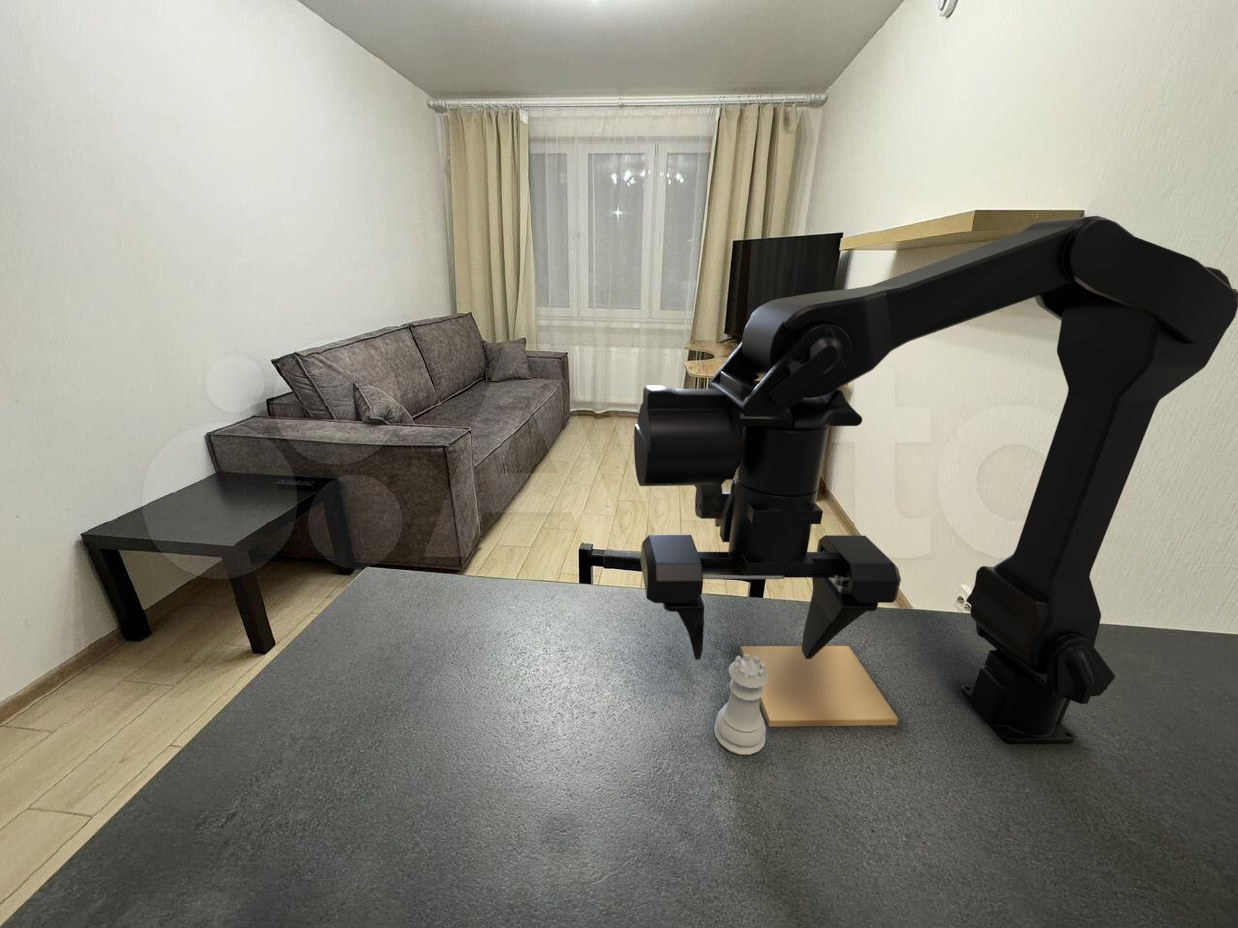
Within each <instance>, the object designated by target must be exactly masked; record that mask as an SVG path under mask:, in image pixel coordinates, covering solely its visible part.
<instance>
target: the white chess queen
mask: <svg viewBox="0 0 1238 928" xmlns="http://www.w3.org/2000/svg"><path fill="white" fill-rule="evenodd" d="M728 667H729V668H728V673H729V676H730V678H731V679H730V680H729V683H728V685H729V689H730V694H729V697H728V700H727V702H726V703H725V704H724V705H723V706H722V708H720V709H719V711H718V712H717V715H716V719H715V723H714V726H713V730H714V735H715V737H716V739H717V741H718V742H719V744H721V746H722V747H723V748H724V749H726V750H727V751H728V752H730V753H732V754H735V755H738V756H750V755H752V754H755V753H758V752H760V751H761V750H762V748H763V747H764V746H765V744H766V743H765V742H766V739H767V738H766V732H767V727H766V723H765V720H764V718H763V715H762V713H761V710H760V702H759V699H760V697H761V696H762V695H763V688H762V686H764V685H765V684H766V683H767V682H768V674H767V671H766V670H765V664H764V663H760V658H758V657H756V656H755V657H754V660H753V659H749V654H743V658H742V656H741V655H740V654H739V655H737V656H736V657H735V659H734V661H733V662H732V663H731V664H730V665H729V666H728Z"/></svg>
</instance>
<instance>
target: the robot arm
mask: <svg viewBox="0 0 1238 928" xmlns="http://www.w3.org/2000/svg"><path fill="white" fill-rule="evenodd" d="M1033 298H1034V299H1035V302H1036V304H1037V305H1038V306H1039V307H1040V308H1041V309H1042V310H1043V311H1046V312H1047V313H1048V314H1050V315H1051V316H1053V317H1055V318H1056V319H1058V320H1059V321H1060V328H1059V333H1058V339H1057V346H1056V354H1057V357H1058V360H1059V363H1060V366H1061V369H1062V372H1063V376H1064V379H1065V382H1066V385H1067V395H1066V397H1065V401H1064V404H1063V406H1062V410H1061V413H1060V416H1059V419H1058V422H1057V425H1056V427H1055V431H1054V434H1053V436H1052V440H1051V443H1050V446H1049V449H1048V452H1047V455H1046V458H1045V460H1044V463H1043V467H1042V470H1041V472H1040V476H1039V477H1038V478H1039V479H1038V482H1037V485H1036V488H1035V491H1034V494H1033V497H1032V499H1031V503H1030V505H1029V509H1028V512H1027V515H1026V517H1025V521H1024V523H1023V526H1022V530H1021V533H1020V536H1019V539H1018V542H1017V545H1016V547H1015V549H1014V551H1013V553H1012V554H1011V555H1010V556H1008V557H1006V558H1005V559H1003V560H1002V561H1000V562H998V563H997V564H995V565H994V566H986V565H982V566H980V567H979V568H978V569H977V570H976V572H975V580H974V585H973V588H972V589H971V592H970V594H969V595H968V597H967V598H966V599H965V602H966V603H968V604H969V605H970V611H969V612H970V613H969V614H970V617H971V618H972V619H973V621H974V622H975V628H976V629H975V630H976V634H977V636H979V637H980V638H983V639H984V640H985V641H986V642H987V643H989V644H990V645H991V646H992V647H993V648H994V649H990V650H989V651H988V654H987V655H986V656H987V657H986V660H985V663H984V665H981V666H980V668H979V671H978V675H977V677H976V680H975V683H974V684H973V685H972V684H969V685H968V684H964V685H962V686H961V689H960V690H961V693H962V695H964V696H965V697H966V699H967V700H968V701H969V702H970V703H971V704H972V705H973V706H974V708H975V709H976V710H977V711H978V712H979V713H980V715H981V716H982V717H983V718H984V719H985V721H986V722H987V723H988V724H989V725H990V726H991V727H992V728H993V730H994V731H995V732H996V733H997V734H998V735H999V736H1000V737H1001V738H1002V740H1003V741H1005V742H1006V743H1009V744H1063V743H1064V744H1065V743H1067V744H1068V743H1070V744H1071V743H1074V742H1075V739H1076V735H1075V734H1074V733H1073V732H1072V731H1071V730H1070V729H1068V727H1067V726H1066V725H1064V724H1063V723H1062V722H1063V719H1064V718H1065V716H1066V713H1067V710H1068V707H1069V706H1070V704H1071V701H1072V702H1075V703H1077V704H1080V705H1084V704H1085V705H1088V704H1089V702H1090V700H1091V697H1099V696H1101V695H1102V694H1103V693H1104V692H1105V691H1106V690H1107V689H1108V687H1109V686H1110V685H1111V683H1112V682H1113V681H1114V680H1115V678H1116V675H1115V674H1114V672H1113V671H1112V669H1111V668H1110V666H1109V665H1108V664H1107V662H1106V661H1105V660H1104V658H1103V657H1102V656H1101V654H1100V653H1099V652H1098V650H1097V649H1096V647H1095V645H1096V641H1097V637H1098V631H1099V627H1100V623H1101V619H1102V613H1101V609H1100V606H1099V602H1098V599H1097V596H1096V592H1095V589H1094V586H1093V583H1092V580H1091V572H1092V569H1093V567H1094V564H1095V561H1096V559H1097V557H1098V554H1099V552H1100V549H1101V547H1102V544H1103V543H1104V539H1105V537H1106V534H1107V531H1108V529H1109V526H1110V523H1111V522H1112V519H1113V516H1114V514H1115V511H1116V508H1117V506H1118V504H1119V501H1120V500H1121V496H1122V493H1123V492H1124V489H1125V486H1126V484H1127V481H1128V479H1129V477H1130V473H1131V471H1132V469H1133V466H1134V463H1135V460H1136V458H1137V456H1138V454H1139V452H1140V448H1141V446H1142V444H1143V441H1144V438H1145V435H1146V433H1147V431H1148V428H1149V425H1150V423H1151V420H1152V418H1153V415H1154V413H1155V410H1156V408H1157V407H1158V405H1159V402H1160V401H1161V400H1162V399H1163V398H1165V397H1166V396H1167V395H1169V394H1171V393H1172V392H1173V391H1175V390H1176V389H1177V388H1178V387H1180V386H1181V385H1183V384H1184V383H1186V381H1188V380H1189V379H1191V378H1192V377H1194V376H1195V375H1196V374H1198V373H1199V372H1201V371H1202V370H1203V369H1204V368H1205V367H1207V365H1208V363H1209V361H1210V360H1211V358H1212V356H1213V355H1214V353H1215V351H1216V350H1217V348H1218V345H1219V344H1220V342H1221V340H1222V339H1223V337H1224V335H1225V334H1226V332H1227V330H1228V329H1229V328H1230V326H1231V324H1232V323H1233V322H1234V319H1235V318H1236V315H1237V312H1238V289H1236V288H1233V286H1232V284H1231V282H1230V280H1229V277H1228V276H1227V275H1226V274H1225V273H1224V272H1223V271H1222V270H1220V269H1219V268H1214V267H1211V266H1205V265H1203V263H1202V262H1200V261H1198V260H1197V259H1195V258H1193V257H1191V256H1188V255H1186V254H1182V253H1181V252H1177V251H1175V250H1172V249H1169V248H1167V247H1164V246H1162V245H1160V244H1156V243H1153V242H1151V241H1148V240H1145V239H1143V238H1140V237H1137V236H1135V235H1133V234H1132V233H1131V232H1130V231H1128V230H1127V229H1125V227H1124V226H1122V225H1120V224H1119V223H1118V222H1116V221H1114V220H1111V219H1109V218H1106V217H1103V216H1101V215H1100V216H1099V215H1091V216H1090V215H1089V216H1080V217H1070V218H1069V217H1068V218H1060V219H1048V220H1043V221H1037V222H1034V223H1033V224H1031V225H1029V226H1028V227H1026V228H1025V229H1023V230H1020V232H1017V233H1013V234H1012V235H1009V236H1005V237H1003V238H1000V239H998V240H995V241H991V242H989V243H986V244H983V245H981V246H978V247H975V248H973V249H970V250H969V249H968V250H966V251H963V252H961V253H958V254H955V255H953V256H950V257H947V258H943V259H941V260H938V261H935V262H932V263H930V264H927V265H923V266H921V267H919V268H916V269H913V270H911V271H908V272H905V273H902V274H899V275H897V276H894V277H891V278H888V279H884V280H882V281H879V282H877V283H874V284H872V285H871V284H870V285H866V286H860V287H854V288H845V289H837V290H827V291H819V292H813V293H812V292H811V293H805V294H799V295H793V296H788V297H782V298H776V299H772V300H770V301H768V302H765V303H764V304H762V305H760V306H758V307H757V308H756V309H755V310H754V311H753V312H752V313H751V314H750V318H749V320H748V322H747V323H746V325H745V327H744V329H743V333H742V338H741V343H739V345H738V346H737V347H736V349H735V350H733V352H732V353H731V355H729V357H728V358H727V359H726V360H725V362H724V363H723V364H722V365H721V367H720V368H719V369H718V370H717V372H715V374H714V375H713V376H712V377H711V379H710V380H709V381H708V383H707V388H674V387H669V386H666V385H645V387H643V390H642V391H643V392H642V403H641V405H640V407H639V411H638V416H637V423H636V424H634V429H633V430H634V431H633V434H634V435H633V453H634V454H633V455H634V469H635V475H636V480H637V483H638V485H639V487H676V486H677V487H681V486H682V487H684V486H685V487H687V486H688V487H689V486H696V488H695V494H694V495H695V497H694V499H695V500H694V513H695V516H696V517H697V518H700V519H702V520H714V526H715V527H716V528H719V527H720V528H719V538H720V540H721V541H722V543H728V548H727V549H728V550H727V551H698V549H697V547H696V544H695V541H694V539H693V535H692V534H649V535H648V536H646V537H645V539H644V540H643V541H642V543H641V550H640V567H641V573H642V579H643V585H644V591H645V597H646V599H647V600H648V601H649V602H652V603H654V604H662V607H663V609H664V610H665V611H667V612H670V613H671V612H672V613H678V616H679V617H680V619H681V622H682V624H683V625H684V627H685V629H686V631H687V635H688V638H689V642H690V644H691V649H692V652H693V657H694V660H696V661H700V660H701V659H702V654H703V651H704V633H705V632H704V631H705V628H704V627H705V605H704V602H703V601H704V600H703V598H702V595H703V588H704V587H703V586H704V580H784V579H789V578H791V579H793V578H794V579H795V578H798V579H800V578H804V579H805V578H806V579H807V578H808V579H810V578H811V579H812V593H811V598H810V603H809V606H808V611H807V616H806V620H805V625H804V629H803V633H802V641H801V642H802V643H801V646H802V653H803V654H804V656H805V658H806V659H811V658H813V657H814V656H815V655H816V654H817V653H818V652H819V651H820V650H821V649H822V648H823V647H824V646H827V644H828V643H830V642H831V641H832V640H833V639H834V638H835V637H836V636H837V635H838V634H840V632H842V631H843V630H844V629H845V628H847V627H848V626H849V625H850V624H852V623H853V622H854V621H856V620H857V619H858V618H860V617H861V616H862V615H863V614H865V613H867V612H875V611H876V610H877V609H878V606H879V604H883V603H884V604H894V603H895V601H896V599H897V597H898V594H899V590H900V585H901V581H902V578H901V573H900V570H899V568H898V566H897V565H896V564H895V563H894V562H893V561H892V560H891V559H890V558H889V557H888V556H887V555H886V554H885V553H884V552H883V551H882V550H881V549H880V548H879V547H878V546H877V545H875V543H874V542H873V541H872V540H871V539H870V538H869V537H868V536H866V535H848V534H847V535H843V534H841V535H839V534H838V535H835V534H831V535H830V534H829V535H827V534H826V535H824V536H822V537H821V538H819V539H818V543H817V548H816V551H808V549H809V544H810V538H811V532H812V527H813V525H822V519H823V513H824V511H823V509H822V508H821V507H820V506H819V505H818V504H817V499H818V492H819V487H820V480H821V474H822V469H823V463H824V457H825V451H826V446H827V441H828V436H829V435H828V433H829V429H830V427H858V426H860V425H861V424H862V423H863V418H862V415H861V414H859V413H858V412H857V410H856V409H855V408H854V407H852V406H851V404H850V403H849V402H848V400H847V398H846V397H845V394H844V392H843V390H841V388H842V387H844V386H846V385H847V384H850V383H851V382H853V381H855V380H857V379H859V378H860V377H862V376H865V375H866V374H868V373H870V372H872V371H873V370H874V369H875V368H876V367H878V365H879V364H880V363H881V362H883V360H885V358H886V357H887V356H888V355H889V354H890V353H892V352H893V351H895V350H897V349H898V348H900V347H902V346H904V345H905V344H907V343H909V342H912V341H915V340H918V339H920V338H923V337H926V336H928V335H932V334H935V333H937V332H939V331H943V330H946V329H948V328H951V327H954V326H957V325H960V324H962V323H965V322H969V321H971V320H973V319H976V318H980V317H982V316H985V315H987V314H990V313H993V312H996V311H999V310H1001V309H1002V310H1003V309H1004V308H1008V307H1010V306H1013V305H1015V304H1019V303H1021V302H1024V301H1027V300H1030V299H1033ZM760 378H761V380H760V381H759V383H758V384H757V383H755V381H756V380H758V379H760ZM735 477H736V478H735ZM731 480H732V483H731V484H730V490H723V484H724V483H725V482H726V481H731Z"/></svg>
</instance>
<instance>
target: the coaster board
mask: <svg viewBox="0 0 1238 928" xmlns="http://www.w3.org/2000/svg"><path fill="white" fill-rule="evenodd" d="M739 653H740V657H741V659H742V658H743V654H749V659H753V660H754V657H755V656H756V657H758V658H760V663H764V664H765V670H766V671H767V674H768V682H767V683H766V684H765V685H764V686H762V688H763V695H762V696H761V697H760V699H759V706H760V708H761V710H762V712H763V715H764V719H765V721H766V724H767V725H768V727H769V728H781V727H782V728H783V727H784V728H786V727H787V728H788V727H861V726H862V727H863V726H864V727H865V726H866V727H867V726H898V721H899V717H898V716H897V714H896V713H895V712H894V710H893V708H891V706H890V704H889V703H888V702H887V700H886V698H885V697H884V696H883V694H882V692H881V691H880V690H879V688H878V687H877V685H876V684H875V682H874V681H873V679H872V678H871V676H870V675H869V673H868V672H867V671H866V669H865V668H864V666H863V664H862V663H861V661H860V660H859V659H858V658H857V655H855V653H854V651H853V650H852V648H851V647H850V646H849V645H825V646H824V647H823V648H822V649H821V650H820V651H819V652H818V653H817V654H816V655H815V656H814V657H813V658H811V659H806V658H805V656H804V654H803V653H802V645H742V646H740V650H739Z"/></svg>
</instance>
